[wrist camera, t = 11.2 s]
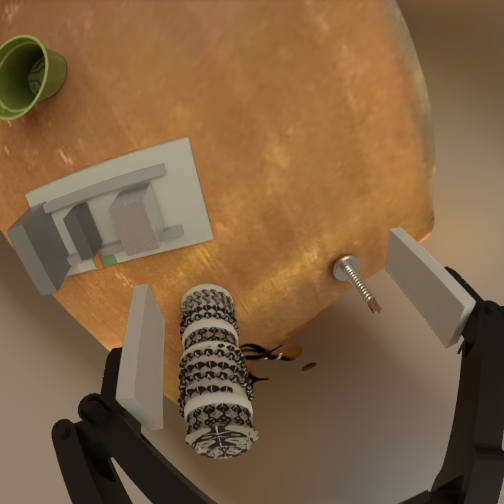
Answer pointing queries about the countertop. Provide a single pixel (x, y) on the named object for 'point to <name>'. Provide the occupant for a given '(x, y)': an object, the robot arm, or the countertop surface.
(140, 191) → the plunger
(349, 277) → the screw
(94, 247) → the dark grey upright block
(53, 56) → the plant pot
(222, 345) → the decorative candle
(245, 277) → the countertop surface
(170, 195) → the base
